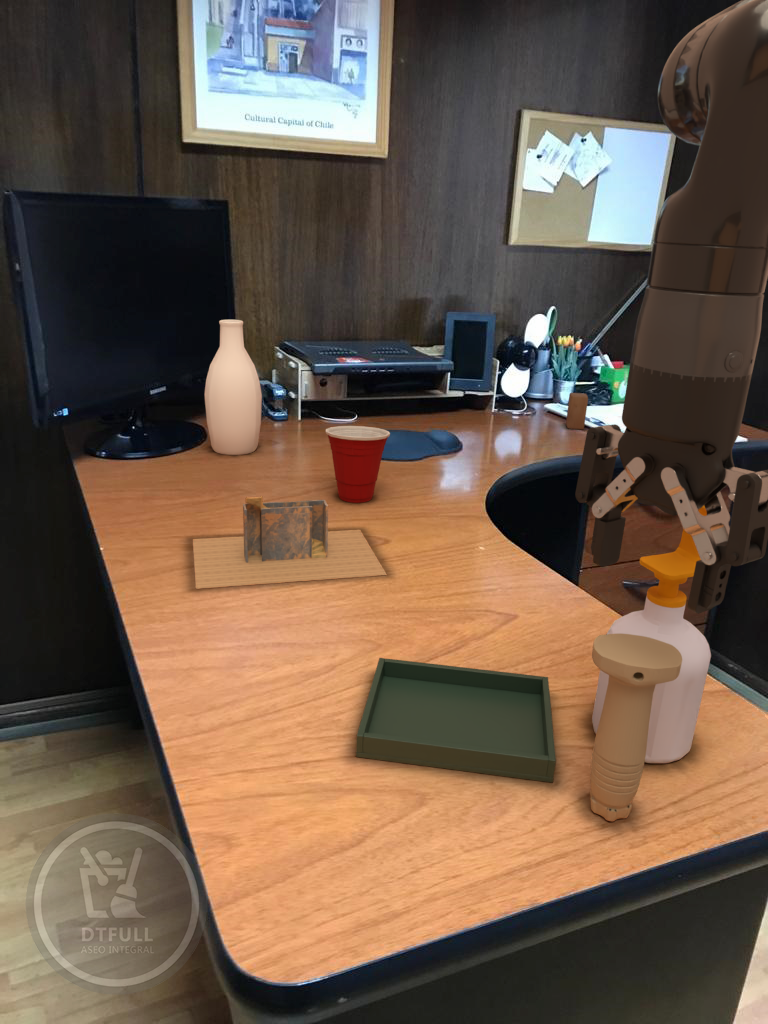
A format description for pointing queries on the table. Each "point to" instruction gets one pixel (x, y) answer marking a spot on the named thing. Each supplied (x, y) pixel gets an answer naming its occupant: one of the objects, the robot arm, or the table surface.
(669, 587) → the soap bottle
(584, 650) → the table surface
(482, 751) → the brush tray
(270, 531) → the ruin model on sheet
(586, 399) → the wooden block
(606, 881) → the table surface
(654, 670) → the handle
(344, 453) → the plastic cup
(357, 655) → the table surface
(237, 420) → the bottle
